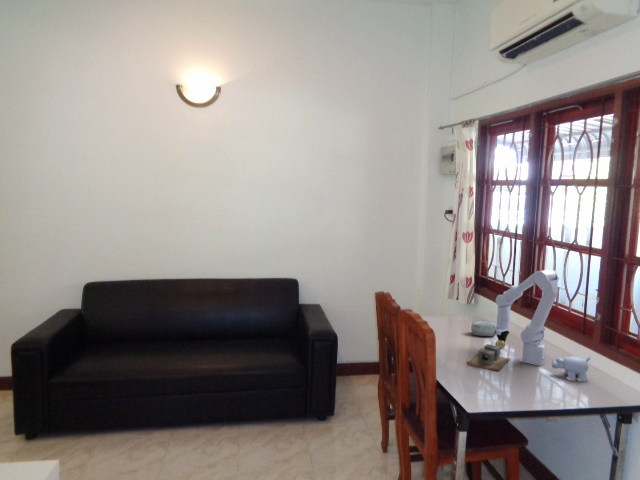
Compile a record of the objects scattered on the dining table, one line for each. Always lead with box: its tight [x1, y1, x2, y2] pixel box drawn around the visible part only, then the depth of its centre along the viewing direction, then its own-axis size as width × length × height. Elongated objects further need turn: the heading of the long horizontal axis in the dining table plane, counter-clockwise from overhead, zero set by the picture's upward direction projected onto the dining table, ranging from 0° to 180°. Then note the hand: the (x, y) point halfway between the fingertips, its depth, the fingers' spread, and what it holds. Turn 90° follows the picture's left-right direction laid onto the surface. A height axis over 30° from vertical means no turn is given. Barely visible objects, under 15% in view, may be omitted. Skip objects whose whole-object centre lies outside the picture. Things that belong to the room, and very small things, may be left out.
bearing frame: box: [466, 343, 511, 373], centre depth 229 cm, size 14×17×6 cm
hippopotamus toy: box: [551, 355, 591, 383], centre depth 214 cm, size 11×15×10 cm
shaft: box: [484, 339, 506, 359], centre depth 234 cm, size 4×22×4 cm, turn 144°
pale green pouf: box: [470, 319, 497, 337], centre depth 269 cm, size 14×10×10 cm
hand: (501, 345), depth 244 cm, fingers closed
